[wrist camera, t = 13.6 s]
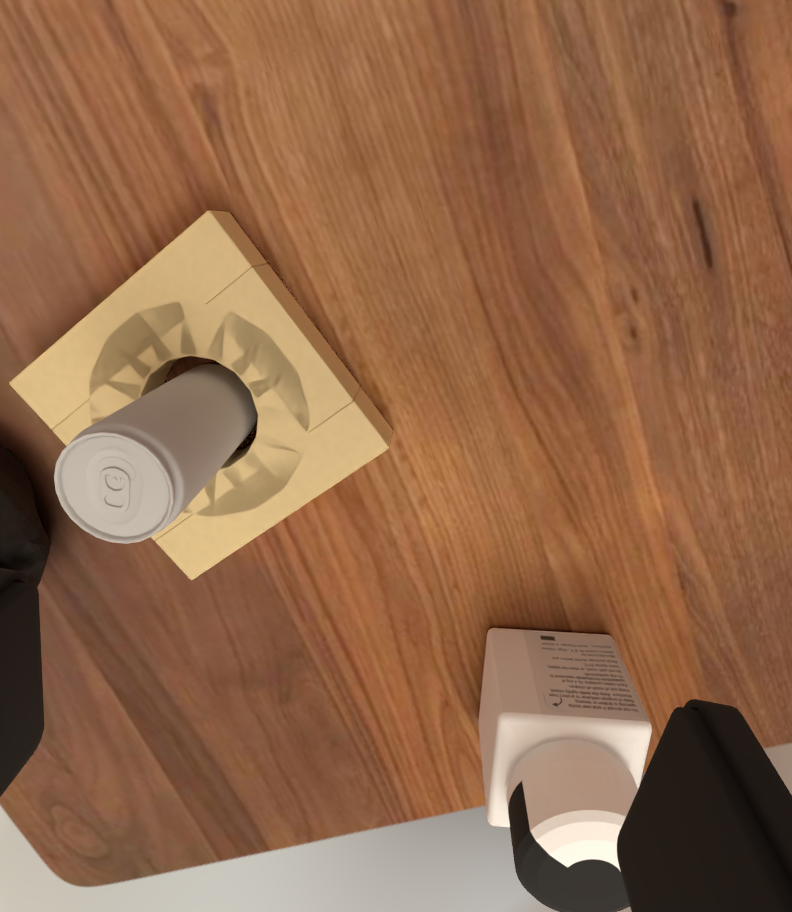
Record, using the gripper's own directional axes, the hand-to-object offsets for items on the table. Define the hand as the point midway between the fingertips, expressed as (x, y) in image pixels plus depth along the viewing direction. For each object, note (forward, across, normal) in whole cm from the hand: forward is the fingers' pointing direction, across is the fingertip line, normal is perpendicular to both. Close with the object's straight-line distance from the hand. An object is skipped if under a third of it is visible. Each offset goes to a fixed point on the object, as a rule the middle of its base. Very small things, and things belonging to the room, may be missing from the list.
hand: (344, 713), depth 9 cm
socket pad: (+25, +10, +4) cm, 28 cm away
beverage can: (+25, +10, +5) cm, 28 cm away
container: (+25, -12, +19) cm, 34 cm away
